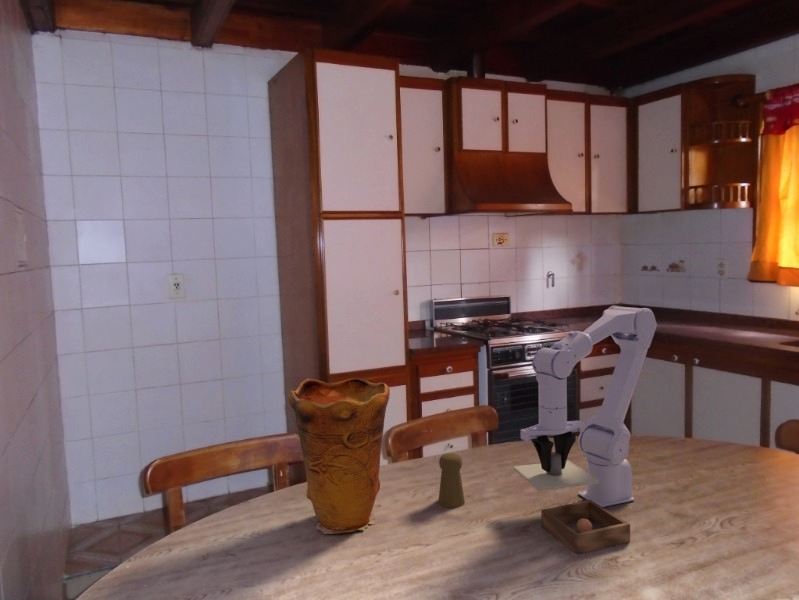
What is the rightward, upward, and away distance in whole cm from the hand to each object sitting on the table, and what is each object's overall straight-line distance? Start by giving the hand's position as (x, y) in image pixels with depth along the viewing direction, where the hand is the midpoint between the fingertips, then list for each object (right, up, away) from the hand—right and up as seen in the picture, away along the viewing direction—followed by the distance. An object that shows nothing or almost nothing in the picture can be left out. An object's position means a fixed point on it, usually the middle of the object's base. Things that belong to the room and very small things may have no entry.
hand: (553, 468), depth 125 cm
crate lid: (0, -1, 0) cm, 1 cm away
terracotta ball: (+4, -11, -7) cm, 14 cm away
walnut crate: (+4, -11, -7) cm, 14 cm away
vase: (-44, -12, 0) cm, 45 cm away
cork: (-21, -11, +10) cm, 25 cm away
